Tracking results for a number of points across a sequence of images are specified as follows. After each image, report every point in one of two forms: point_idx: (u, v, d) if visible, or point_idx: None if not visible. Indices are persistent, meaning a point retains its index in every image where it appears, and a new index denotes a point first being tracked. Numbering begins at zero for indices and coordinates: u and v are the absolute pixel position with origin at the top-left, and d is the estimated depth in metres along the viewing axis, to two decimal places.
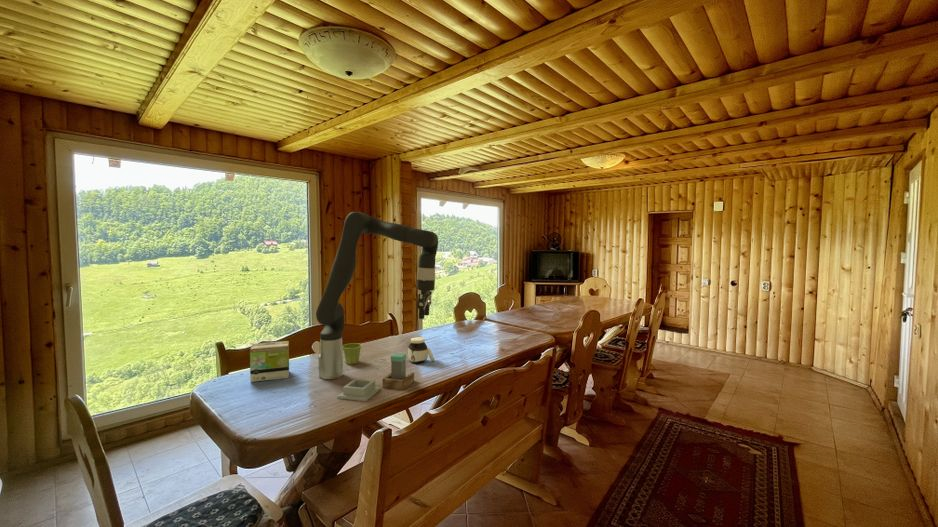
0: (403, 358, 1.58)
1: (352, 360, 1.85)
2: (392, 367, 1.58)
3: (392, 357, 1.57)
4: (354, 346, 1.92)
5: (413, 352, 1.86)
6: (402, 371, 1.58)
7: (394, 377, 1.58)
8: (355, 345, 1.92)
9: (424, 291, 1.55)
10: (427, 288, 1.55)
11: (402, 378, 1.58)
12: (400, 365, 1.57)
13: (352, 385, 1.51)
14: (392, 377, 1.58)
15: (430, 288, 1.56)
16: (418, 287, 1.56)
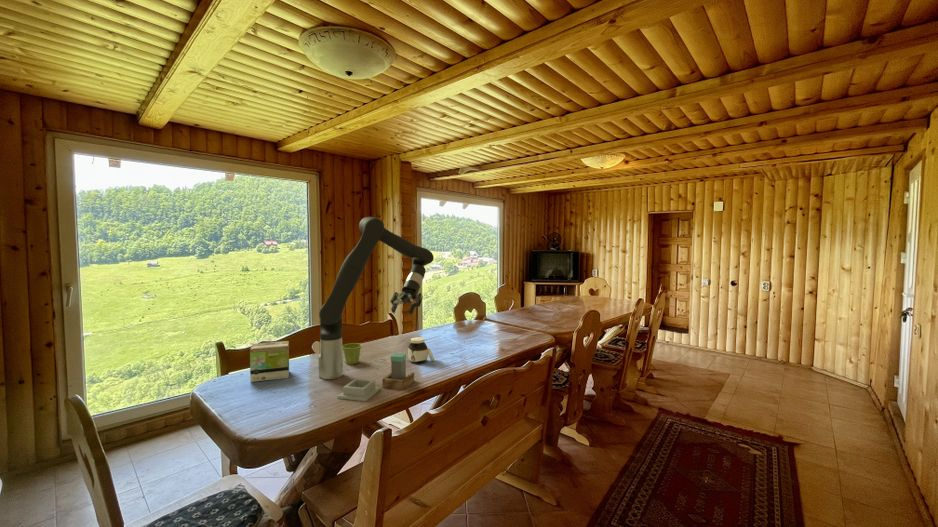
0: (403, 358, 1.58)
1: (352, 360, 1.85)
2: (392, 367, 1.58)
3: (392, 357, 1.57)
4: (354, 346, 1.92)
5: (412, 352, 1.86)
6: (402, 371, 1.58)
7: (394, 377, 1.58)
8: (355, 345, 1.92)
9: (416, 293, 1.75)
10: (417, 292, 1.77)
11: (402, 378, 1.58)
12: (400, 365, 1.57)
13: (352, 385, 1.51)
14: (392, 377, 1.58)
15: None
16: (414, 287, 1.74)
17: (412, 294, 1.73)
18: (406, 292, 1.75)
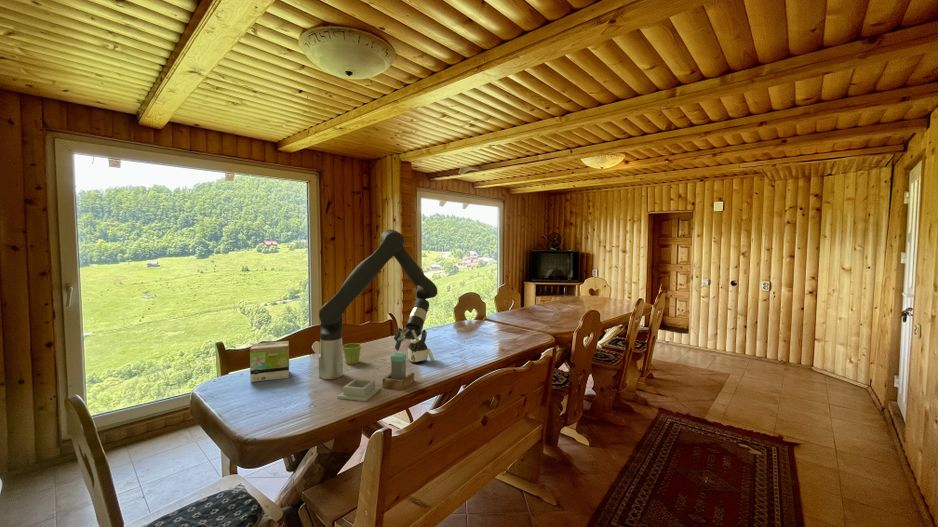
0: (403, 358, 1.58)
1: (352, 360, 1.85)
2: (392, 367, 1.58)
3: (392, 357, 1.57)
4: (354, 346, 1.92)
5: (412, 352, 1.86)
6: (402, 371, 1.58)
7: (394, 377, 1.58)
8: (355, 345, 1.92)
9: (421, 329, 1.72)
10: None
11: (402, 378, 1.58)
12: (400, 365, 1.57)
13: (352, 385, 1.51)
14: (392, 377, 1.58)
15: None
16: (418, 323, 1.71)
17: (416, 331, 1.70)
18: (410, 328, 1.71)
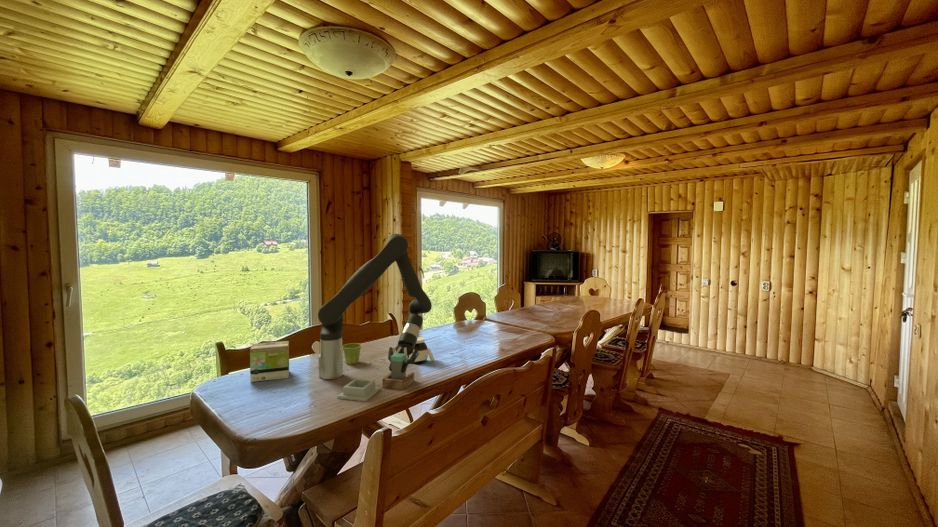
0: (403, 358, 1.58)
1: (352, 360, 1.85)
2: (392, 367, 1.58)
3: (392, 357, 1.57)
4: (354, 346, 1.92)
5: None
6: None
7: (394, 377, 1.58)
8: (355, 345, 1.92)
9: (413, 347, 1.64)
10: (414, 345, 1.66)
11: (402, 378, 1.58)
12: (400, 365, 1.57)
13: (352, 385, 1.51)
14: (392, 377, 1.58)
15: None
16: (411, 341, 1.64)
17: (408, 349, 1.62)
18: (402, 346, 1.64)
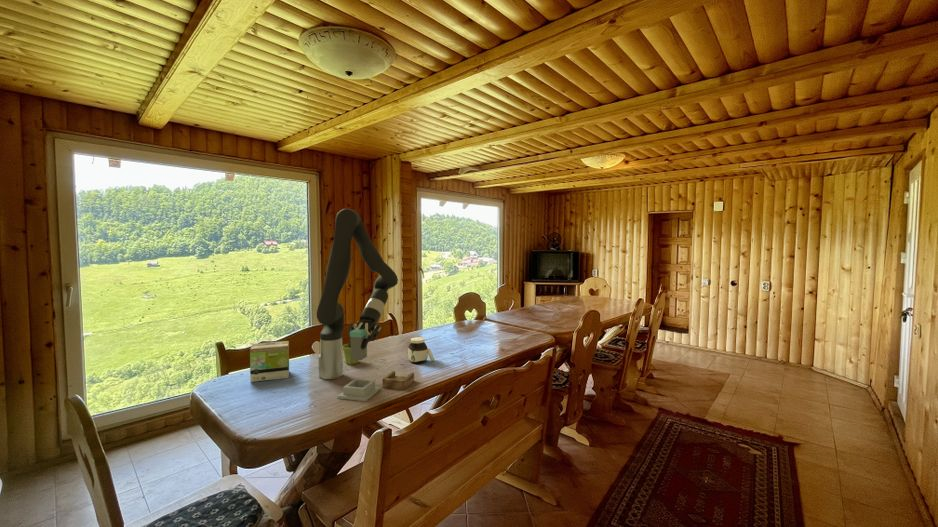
0: (363, 334, 1.47)
1: (352, 360, 1.85)
2: (351, 343, 1.47)
3: (351, 332, 1.46)
4: None
5: (413, 352, 1.86)
6: None
7: (353, 354, 1.47)
8: None
9: (376, 323, 1.54)
10: (377, 322, 1.55)
11: (362, 355, 1.47)
12: (360, 341, 1.46)
13: (352, 385, 1.51)
14: (351, 354, 1.47)
15: None
16: (373, 316, 1.53)
17: (370, 325, 1.51)
18: (364, 321, 1.53)
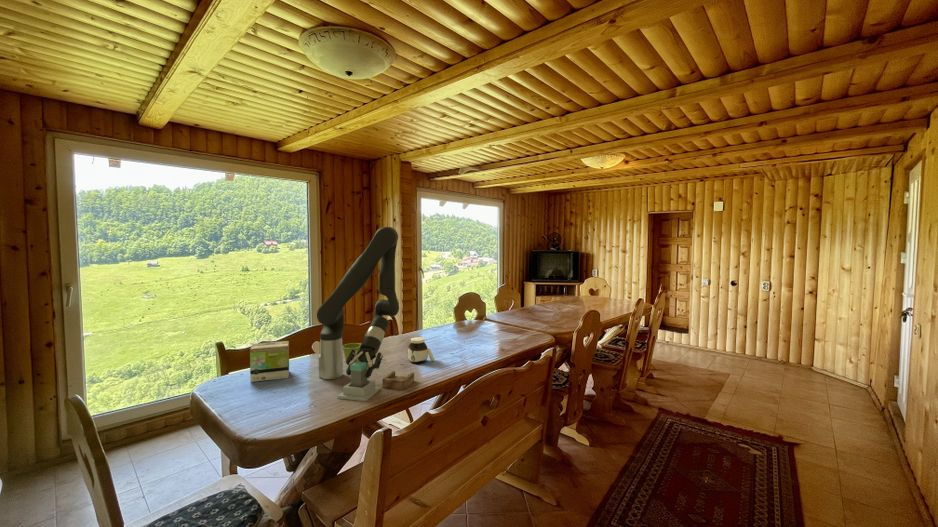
0: (363, 367, 1.48)
1: None
2: (351, 377, 1.48)
3: (351, 366, 1.47)
4: (354, 346, 1.92)
5: (412, 352, 1.86)
6: (362, 381, 1.48)
7: None
8: (355, 345, 1.92)
9: (376, 351, 1.54)
10: None
11: None
12: (359, 375, 1.47)
13: None
14: None
15: None
16: (373, 345, 1.53)
17: (371, 353, 1.52)
18: (364, 350, 1.54)
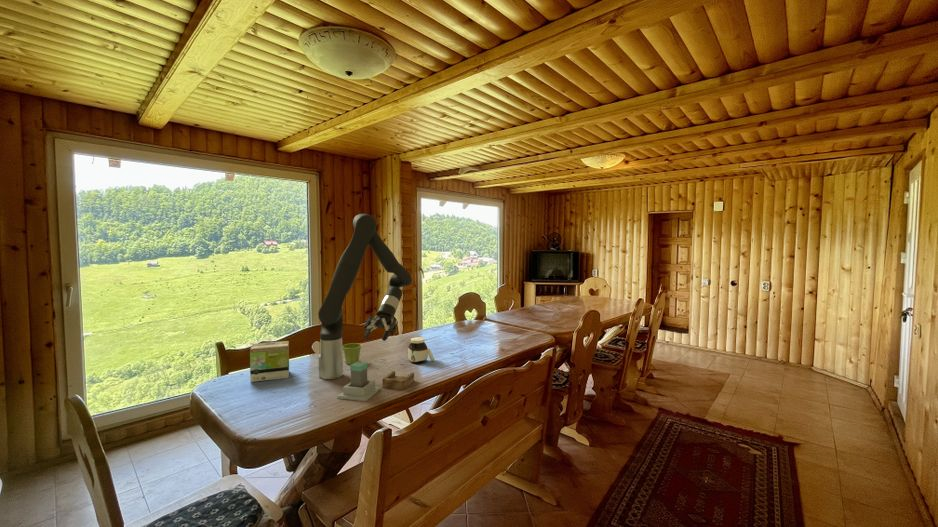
0: (363, 367, 1.48)
1: (352, 360, 1.85)
2: (351, 377, 1.48)
3: (351, 366, 1.47)
4: (354, 346, 1.92)
5: (413, 352, 1.86)
6: (362, 381, 1.48)
7: None
8: (355, 345, 1.92)
9: (392, 318, 1.66)
10: None
11: None
12: (359, 375, 1.47)
13: None
14: None
15: None
16: (389, 311, 1.65)
17: (387, 319, 1.64)
18: (381, 317, 1.66)
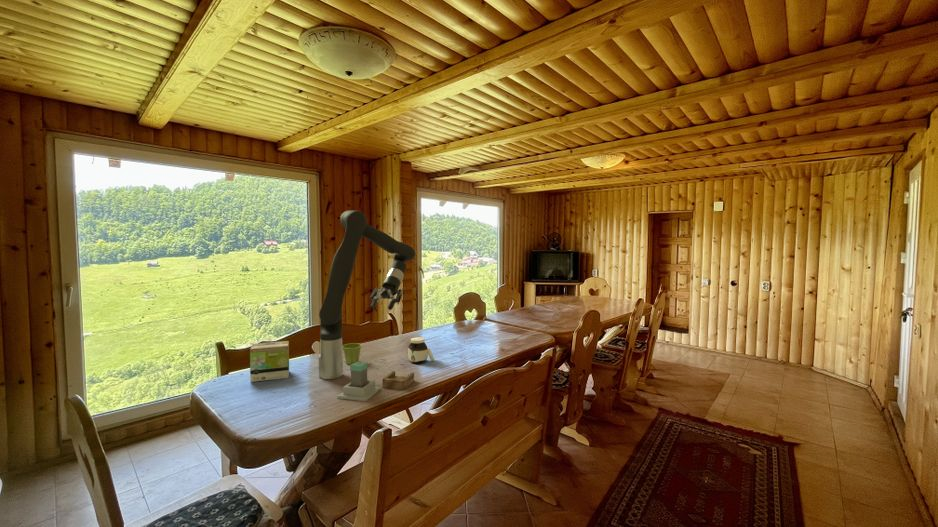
0: (363, 367, 1.48)
1: (352, 360, 1.85)
2: (351, 377, 1.48)
3: (351, 366, 1.47)
4: (354, 346, 1.92)
5: (412, 352, 1.86)
6: (362, 381, 1.48)
7: None
8: (355, 345, 1.92)
9: (397, 289, 1.73)
10: (398, 288, 1.75)
11: None
12: (359, 375, 1.47)
13: None
14: None
15: None
16: (394, 283, 1.72)
17: (392, 290, 1.71)
18: (386, 288, 1.73)
